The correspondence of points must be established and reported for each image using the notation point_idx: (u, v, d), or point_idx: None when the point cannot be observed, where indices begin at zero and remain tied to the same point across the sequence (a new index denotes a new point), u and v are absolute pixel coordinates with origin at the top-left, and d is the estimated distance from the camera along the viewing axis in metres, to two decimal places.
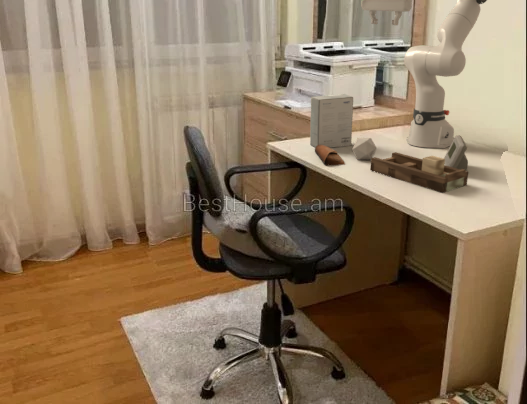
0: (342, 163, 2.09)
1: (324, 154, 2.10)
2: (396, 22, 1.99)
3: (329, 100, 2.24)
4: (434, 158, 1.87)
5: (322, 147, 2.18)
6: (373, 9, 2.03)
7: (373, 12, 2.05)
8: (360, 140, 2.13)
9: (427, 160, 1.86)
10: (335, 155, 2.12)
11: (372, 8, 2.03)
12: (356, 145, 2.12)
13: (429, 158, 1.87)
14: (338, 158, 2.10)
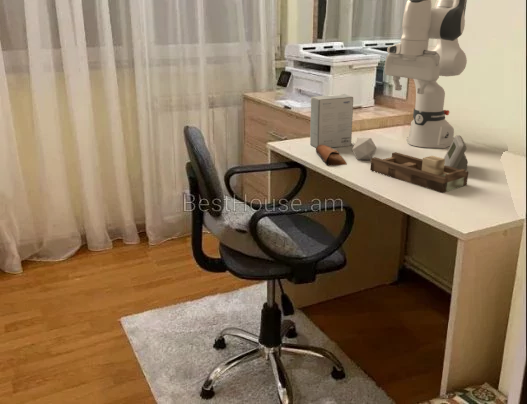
0: (343, 163, 2.09)
1: (325, 154, 2.10)
2: (422, 91, 1.87)
3: (329, 100, 2.24)
4: (434, 158, 1.87)
5: (323, 147, 2.18)
6: (397, 75, 1.92)
7: (397, 78, 1.94)
8: (360, 140, 2.13)
9: (427, 160, 1.86)
10: (336, 155, 2.12)
11: (396, 74, 1.92)
12: (356, 145, 2.12)
13: (429, 158, 1.87)
14: (339, 158, 2.10)
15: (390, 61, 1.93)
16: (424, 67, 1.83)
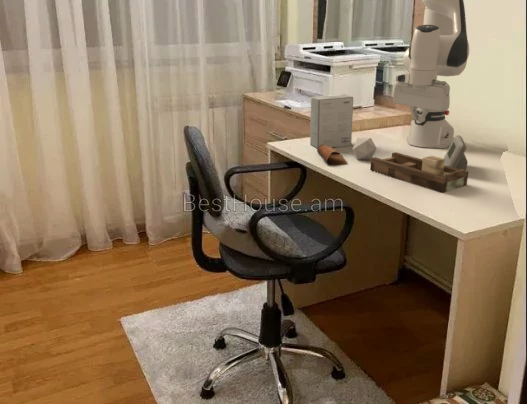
0: (344, 163, 2.09)
1: (326, 154, 2.10)
2: (423, 118, 1.87)
3: (329, 100, 2.24)
4: (434, 158, 1.87)
5: (324, 147, 2.18)
6: (406, 104, 1.89)
7: (414, 108, 1.88)
8: (360, 140, 2.13)
9: (427, 160, 1.86)
10: (337, 155, 2.12)
11: (405, 103, 1.89)
12: (356, 145, 2.12)
13: (429, 158, 1.87)
14: (340, 158, 2.10)
15: (399, 89, 1.90)
16: (434, 97, 1.80)
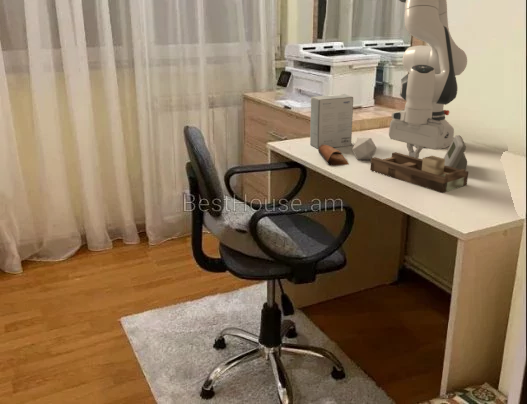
0: (345, 163, 2.09)
1: (327, 154, 2.10)
2: (417, 155, 1.91)
3: (329, 100, 2.24)
4: (434, 158, 1.87)
5: (326, 147, 2.18)
6: (402, 140, 1.93)
7: (411, 145, 1.92)
8: (360, 140, 2.13)
9: (427, 160, 1.86)
10: (339, 155, 2.12)
11: (401, 139, 1.93)
12: (356, 145, 2.12)
13: (429, 158, 1.87)
14: (341, 158, 2.10)
15: (395, 126, 1.94)
16: (428, 136, 1.84)
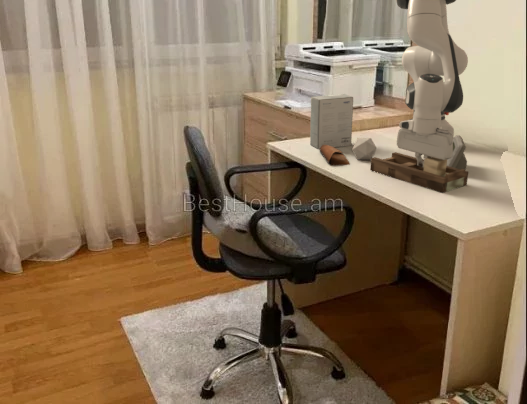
0: (347, 163, 2.09)
1: (329, 154, 2.10)
2: None
3: (329, 100, 2.24)
4: (436, 159, 1.86)
5: (327, 147, 2.18)
6: (410, 150, 1.91)
7: (419, 154, 1.90)
8: (360, 140, 2.13)
9: (429, 160, 1.85)
10: (340, 155, 2.12)
11: (409, 149, 1.92)
12: (356, 145, 2.12)
13: (431, 158, 1.86)
14: (343, 158, 2.10)
15: (402, 135, 1.92)
16: (437, 145, 1.82)
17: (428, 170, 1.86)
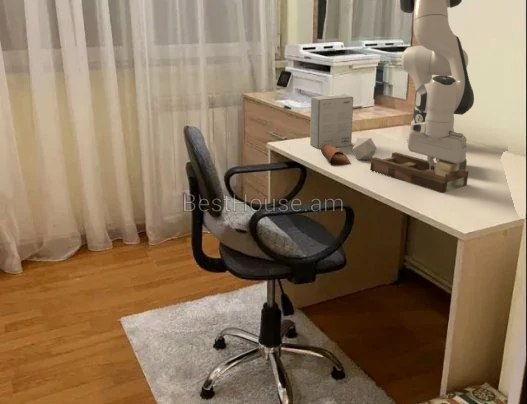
0: (348, 163, 2.09)
1: (330, 154, 2.10)
2: None
3: (329, 100, 2.24)
4: (448, 162, 1.83)
5: (328, 147, 2.18)
6: (422, 153, 1.88)
7: (431, 157, 1.87)
8: (360, 140, 2.13)
9: (441, 164, 1.82)
10: (341, 155, 2.12)
11: (420, 152, 1.88)
12: (356, 145, 2.12)
13: (443, 162, 1.83)
14: (344, 158, 2.10)
15: (414, 138, 1.89)
16: (450, 149, 1.79)
17: (440, 173, 1.83)
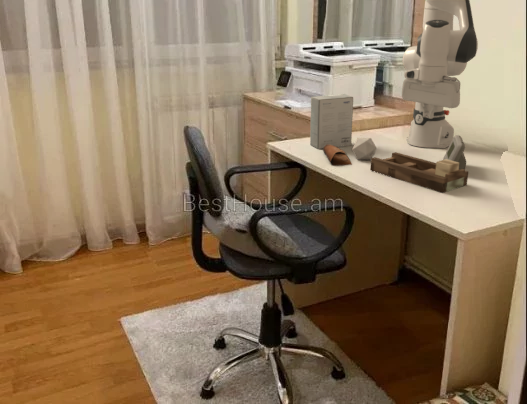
0: (349, 163, 2.09)
1: (331, 154, 2.10)
2: (431, 115, 1.84)
3: (329, 100, 2.24)
4: (448, 162, 1.83)
5: (330, 147, 2.18)
6: (415, 101, 1.86)
7: (425, 105, 1.85)
8: (360, 140, 2.13)
9: (441, 164, 1.82)
10: (342, 155, 2.12)
11: (414, 99, 1.86)
12: (356, 145, 2.12)
13: (443, 162, 1.83)
14: (345, 158, 2.10)
15: (408, 86, 1.87)
16: (444, 94, 1.77)
17: (440, 174, 1.83)
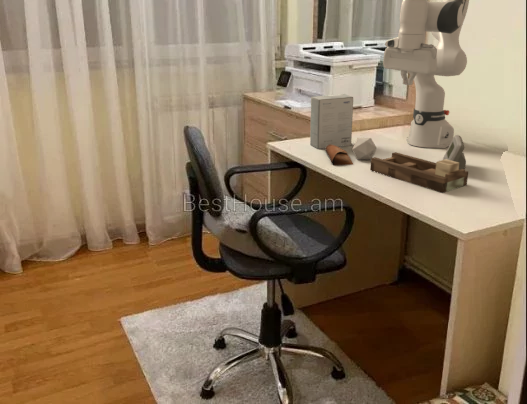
0: (350, 163, 2.09)
1: (332, 154, 2.10)
2: (410, 82, 1.95)
3: (329, 100, 2.24)
4: (448, 162, 1.83)
5: (332, 147, 2.18)
6: (396, 68, 1.97)
7: (404, 72, 1.96)
8: (360, 140, 2.13)
9: (441, 164, 1.82)
10: (344, 155, 2.12)
11: (395, 67, 1.97)
12: (356, 145, 2.12)
13: (443, 162, 1.83)
14: (346, 158, 2.10)
15: (389, 54, 1.98)
16: (422, 60, 1.88)
17: (440, 174, 1.83)
